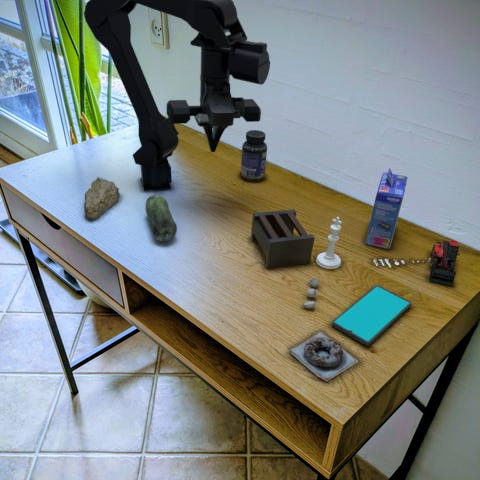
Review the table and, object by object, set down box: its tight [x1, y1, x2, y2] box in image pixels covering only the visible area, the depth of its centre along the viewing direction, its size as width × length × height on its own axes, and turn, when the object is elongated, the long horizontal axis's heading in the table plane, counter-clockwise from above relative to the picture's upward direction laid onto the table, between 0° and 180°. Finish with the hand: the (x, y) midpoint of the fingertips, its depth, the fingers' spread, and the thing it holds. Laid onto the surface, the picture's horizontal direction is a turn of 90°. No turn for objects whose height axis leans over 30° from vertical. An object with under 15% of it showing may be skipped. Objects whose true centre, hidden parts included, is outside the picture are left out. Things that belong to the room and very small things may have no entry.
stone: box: [83, 176, 121, 221], centre depth 108 cm, size 14×7×5 cm, turn 169°
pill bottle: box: [240, 129, 268, 182], centre depth 121 cm, size 6×6×11 cm
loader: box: [428, 237, 460, 286], centre depth 97 cm, size 12×5×5 cm, turn 162°
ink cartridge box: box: [365, 167, 408, 250], centre depth 102 cm, size 10×6×14 cm, turn 161°
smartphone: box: [331, 284, 412, 347], centre depth 86 cm, size 7×1×15 cm
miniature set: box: [372, 257, 432, 268], centre depth 99 cm, size 3×12×2 cm, turn 101°
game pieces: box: [303, 277, 319, 309], centre depth 89 cm, size 8×2×2 cm
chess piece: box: [315, 216, 343, 270], centre depth 95 cm, size 5×5×10 cm
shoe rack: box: [250, 208, 316, 269], centre depth 98 cm, size 9×11×6 cm
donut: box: [289, 331, 359, 382], centre depth 77 cm, size 8×8×2 cm
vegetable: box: [145, 194, 178, 242], centre depth 102 cm, size 14×5×5 cm
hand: (212, 151), depth 106 cm, fingers closed
